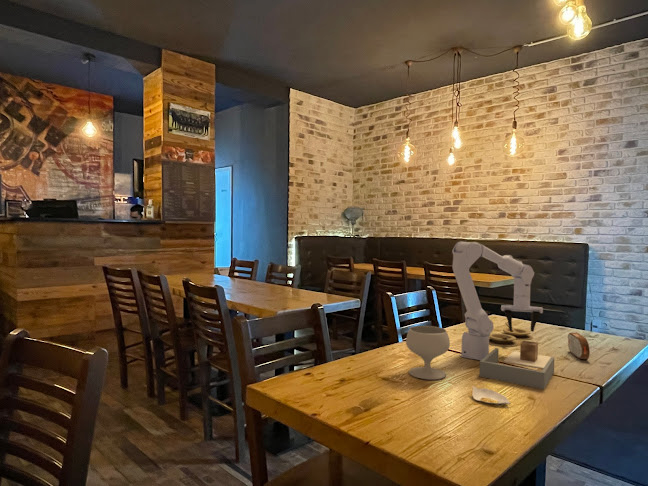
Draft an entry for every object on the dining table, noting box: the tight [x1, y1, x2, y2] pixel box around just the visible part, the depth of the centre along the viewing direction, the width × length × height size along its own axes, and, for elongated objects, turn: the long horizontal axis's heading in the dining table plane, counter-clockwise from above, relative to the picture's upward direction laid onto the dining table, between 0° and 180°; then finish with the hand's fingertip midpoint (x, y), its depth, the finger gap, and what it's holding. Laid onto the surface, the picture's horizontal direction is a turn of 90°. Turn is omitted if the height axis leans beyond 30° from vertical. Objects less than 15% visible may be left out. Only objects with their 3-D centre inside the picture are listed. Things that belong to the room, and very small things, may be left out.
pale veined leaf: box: [471, 385, 512, 405], centre depth 119 cm, size 8×12×2 cm, turn 38°
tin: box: [567, 332, 591, 360], centre depth 163 cm, size 15×3×8 cm, turn 168°
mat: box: [503, 350, 552, 370], centre depth 157 cm, size 14×16×1 cm
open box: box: [479, 347, 555, 390], centre depth 141 cm, size 19×20×5 cm
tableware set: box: [489, 321, 534, 351], centre depth 188 cm, size 30×20×6 cm, turn 135°
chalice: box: [405, 325, 451, 381], centre depth 140 cm, size 14×14×15 cm
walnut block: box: [519, 340, 539, 362], centre depth 157 cm, size 5×5×6 cm
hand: (521, 330), depth 164 cm, fingers open, 7 cm apart
